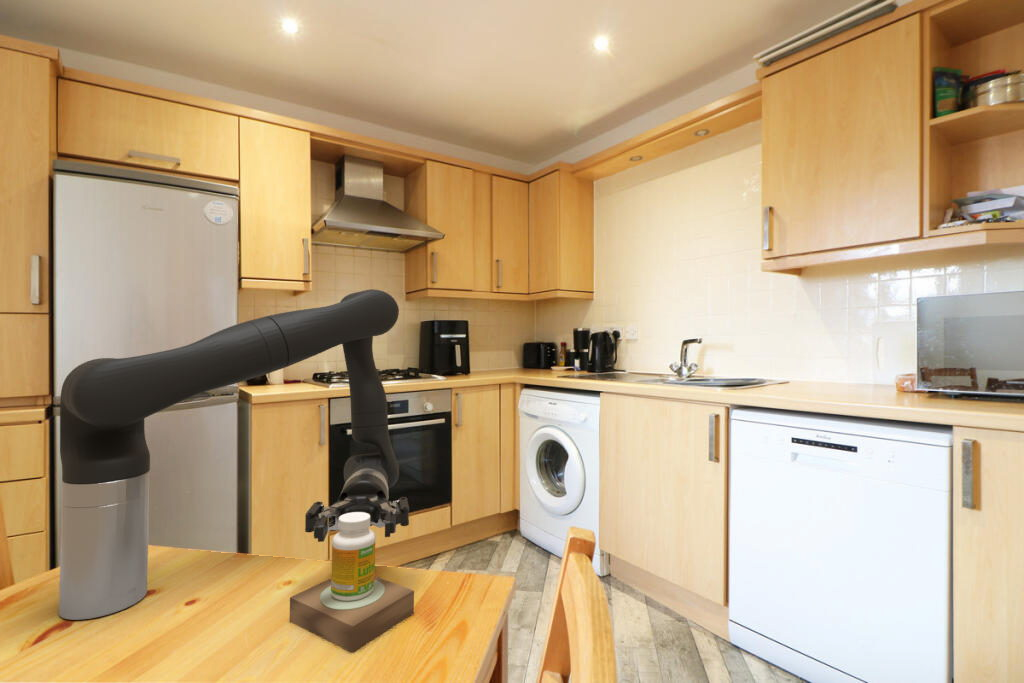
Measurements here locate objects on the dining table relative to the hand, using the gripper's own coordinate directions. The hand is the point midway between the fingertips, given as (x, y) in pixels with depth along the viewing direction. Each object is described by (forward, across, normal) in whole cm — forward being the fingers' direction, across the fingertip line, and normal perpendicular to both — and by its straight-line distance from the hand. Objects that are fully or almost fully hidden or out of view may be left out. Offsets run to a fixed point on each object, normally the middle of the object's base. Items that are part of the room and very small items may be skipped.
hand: (354, 532), depth 65 cm
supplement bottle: (+1, 0, +7) cm, 8 cm away
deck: (+2, 0, +10) cm, 11 cm away
